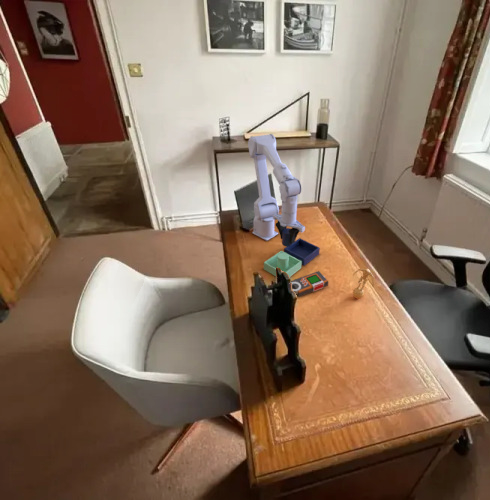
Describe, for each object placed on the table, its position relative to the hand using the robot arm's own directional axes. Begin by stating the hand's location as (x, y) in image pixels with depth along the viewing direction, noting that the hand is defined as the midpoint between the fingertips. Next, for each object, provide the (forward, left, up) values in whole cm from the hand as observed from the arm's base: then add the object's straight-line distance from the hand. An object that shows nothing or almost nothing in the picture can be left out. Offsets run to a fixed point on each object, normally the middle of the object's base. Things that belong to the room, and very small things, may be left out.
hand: (287, 240), depth 127 cm
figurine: (+34, 0, -9) cm, 35 cm away
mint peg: (+3, -7, -8) cm, 11 cm away
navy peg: (0, 0, -2) cm, 2 cm away
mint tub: (+3, -7, -9) cm, 12 cm away
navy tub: (+3, +6, -9) cm, 11 cm away
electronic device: (+17, -9, -9) cm, 21 cm away
